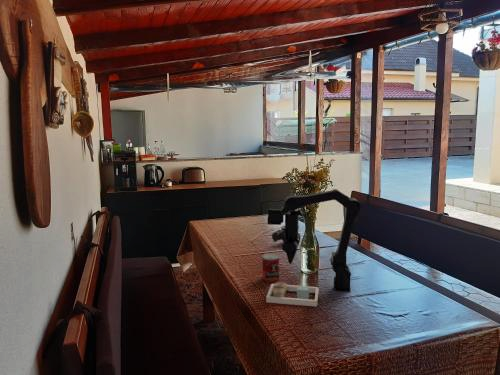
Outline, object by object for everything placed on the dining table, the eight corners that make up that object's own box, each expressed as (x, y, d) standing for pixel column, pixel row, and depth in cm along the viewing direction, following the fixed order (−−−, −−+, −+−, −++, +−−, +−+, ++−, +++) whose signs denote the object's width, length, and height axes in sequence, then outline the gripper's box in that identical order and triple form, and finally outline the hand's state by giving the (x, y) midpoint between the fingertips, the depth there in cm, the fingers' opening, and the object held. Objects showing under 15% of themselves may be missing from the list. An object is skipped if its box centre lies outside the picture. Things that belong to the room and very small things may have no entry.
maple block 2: (283, 297, 169) (283, 288, 169) (283, 302, 165) (283, 292, 165) (273, 297, 169) (273, 288, 169) (273, 302, 165) (273, 292, 165)
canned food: (265, 283, 184) (265, 259, 183) (260, 276, 192) (260, 254, 190) (281, 281, 186) (281, 257, 185) (275, 275, 194) (276, 252, 192)
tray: (318, 292, 174) (318, 287, 174) (316, 306, 161) (317, 301, 160) (271, 288, 178) (271, 283, 178) (266, 302, 165) (266, 297, 164)
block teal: (308, 296, 170) (308, 286, 170) (307, 300, 166) (307, 290, 166) (297, 295, 171) (297, 285, 171) (296, 299, 167) (296, 289, 166)
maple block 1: (286, 292, 175) (286, 283, 174) (284, 295, 171) (284, 286, 170) (277, 291, 176) (277, 282, 175) (274, 294, 172) (274, 285, 172)
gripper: (276, 219, 187) (275, 252, 189) (269, 229, 169) (269, 266, 171) (300, 220, 185) (300, 253, 187) (296, 230, 167) (296, 267, 169)
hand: (291, 260), depth 179 cm, fingers open, 9 cm apart
